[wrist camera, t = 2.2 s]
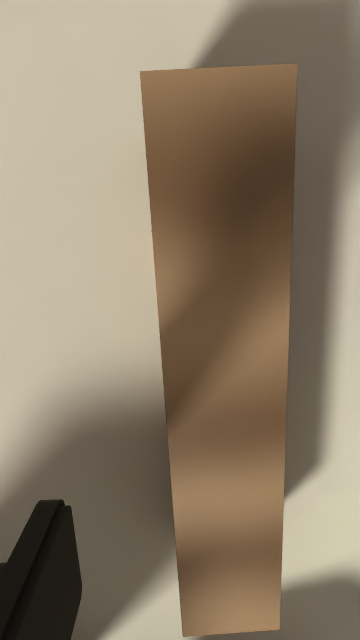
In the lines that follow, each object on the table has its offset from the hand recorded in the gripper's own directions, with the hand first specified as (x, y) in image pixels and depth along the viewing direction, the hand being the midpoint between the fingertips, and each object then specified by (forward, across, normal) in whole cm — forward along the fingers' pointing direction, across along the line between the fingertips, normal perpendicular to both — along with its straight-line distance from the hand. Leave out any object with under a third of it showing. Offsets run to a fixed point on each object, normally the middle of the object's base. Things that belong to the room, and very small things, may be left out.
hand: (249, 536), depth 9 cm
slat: (+8, 0, -2) cm, 8 cm away
